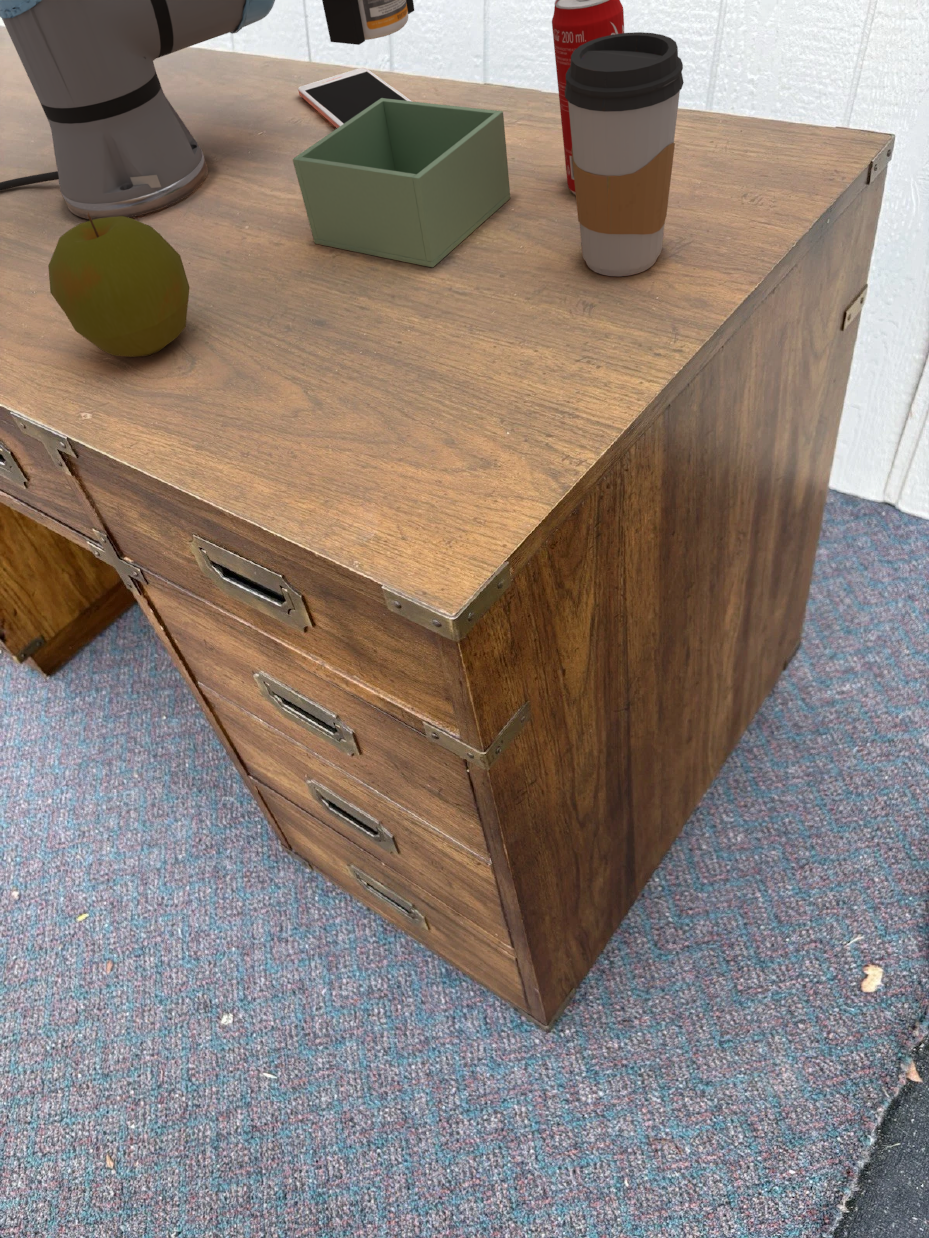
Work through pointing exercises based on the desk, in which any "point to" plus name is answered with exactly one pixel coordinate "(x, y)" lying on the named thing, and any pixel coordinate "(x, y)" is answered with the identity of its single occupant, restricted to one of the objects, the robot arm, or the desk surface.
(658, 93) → the coffee cup
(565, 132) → the beverage can
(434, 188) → the bin
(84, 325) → the apple
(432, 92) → the desk surface
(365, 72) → the cell phone
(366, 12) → the pill bottle
